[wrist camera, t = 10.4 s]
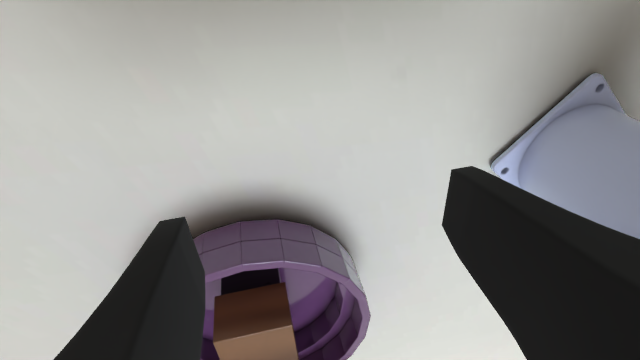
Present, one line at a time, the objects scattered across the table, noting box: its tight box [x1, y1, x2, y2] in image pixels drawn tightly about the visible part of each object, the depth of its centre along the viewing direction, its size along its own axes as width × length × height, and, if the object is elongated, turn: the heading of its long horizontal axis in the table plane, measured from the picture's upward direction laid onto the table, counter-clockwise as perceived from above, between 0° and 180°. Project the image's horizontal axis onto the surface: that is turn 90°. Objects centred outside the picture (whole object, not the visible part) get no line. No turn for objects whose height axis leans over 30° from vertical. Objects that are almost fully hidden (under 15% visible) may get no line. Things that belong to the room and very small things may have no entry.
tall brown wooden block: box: [213, 268, 299, 360], centre depth 24 cm, size 8×4×6 cm, turn 4°
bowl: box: [193, 219, 371, 360], centre depth 25 cm, size 14×14×4 cm
